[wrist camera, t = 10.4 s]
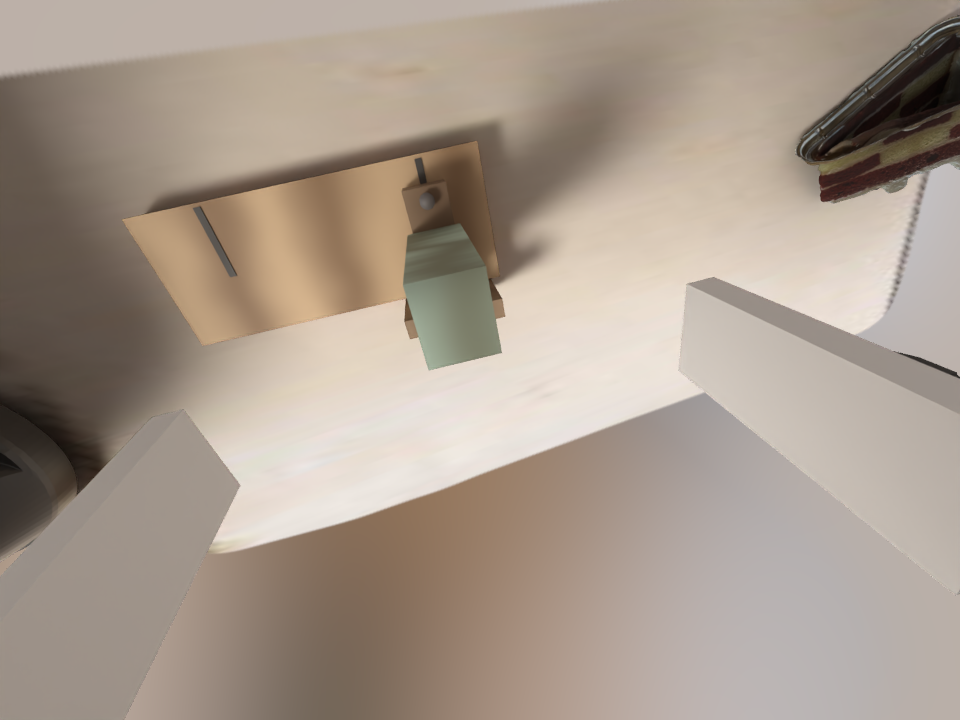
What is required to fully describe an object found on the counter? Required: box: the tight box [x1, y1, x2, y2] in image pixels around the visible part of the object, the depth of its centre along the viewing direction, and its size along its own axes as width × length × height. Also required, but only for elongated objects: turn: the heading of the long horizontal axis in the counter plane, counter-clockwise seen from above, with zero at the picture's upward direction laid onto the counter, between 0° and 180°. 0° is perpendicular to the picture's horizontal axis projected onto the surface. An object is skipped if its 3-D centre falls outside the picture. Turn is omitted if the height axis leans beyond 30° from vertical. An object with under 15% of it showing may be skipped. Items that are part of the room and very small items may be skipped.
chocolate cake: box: [795, 15, 960, 203], centre depth 25 cm, size 10×7×12 cm
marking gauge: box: [401, 179, 505, 370], centre depth 20 cm, size 6×8×12 cm
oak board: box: [122, 141, 500, 346], centre depth 24 cm, size 20×8×2 cm, turn 101°
